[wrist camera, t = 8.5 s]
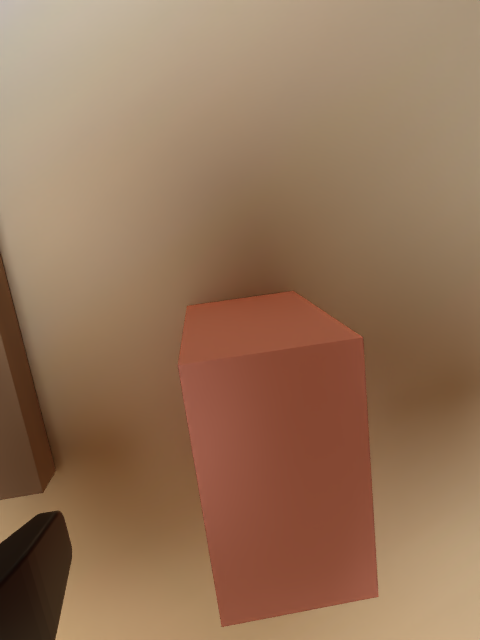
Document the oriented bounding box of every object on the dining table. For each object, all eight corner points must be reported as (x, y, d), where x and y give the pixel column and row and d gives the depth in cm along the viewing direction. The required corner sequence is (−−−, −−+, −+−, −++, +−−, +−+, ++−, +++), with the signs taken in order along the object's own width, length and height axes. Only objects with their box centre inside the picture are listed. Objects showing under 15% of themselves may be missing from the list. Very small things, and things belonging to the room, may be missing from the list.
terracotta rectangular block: (292, 290, 14) (363, 337, 8) (308, 453, 15) (378, 596, 9) (186, 305, 13) (177, 365, 8) (212, 469, 15) (221, 626, 9)
